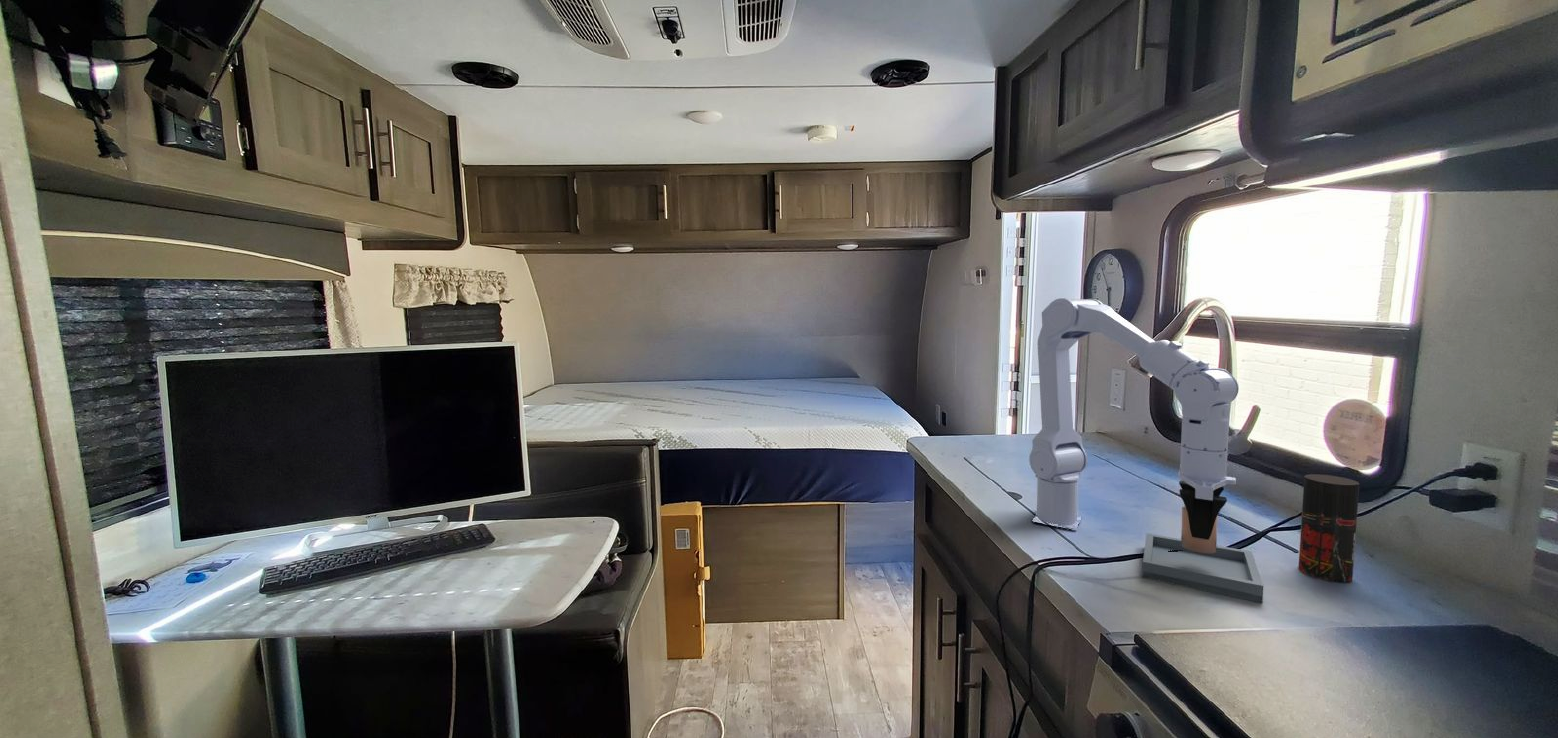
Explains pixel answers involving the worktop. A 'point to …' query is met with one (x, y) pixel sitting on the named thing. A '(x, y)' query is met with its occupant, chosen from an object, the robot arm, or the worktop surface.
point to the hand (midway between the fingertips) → (1199, 532)
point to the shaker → (1197, 543)
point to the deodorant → (1328, 527)
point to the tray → (1203, 568)
